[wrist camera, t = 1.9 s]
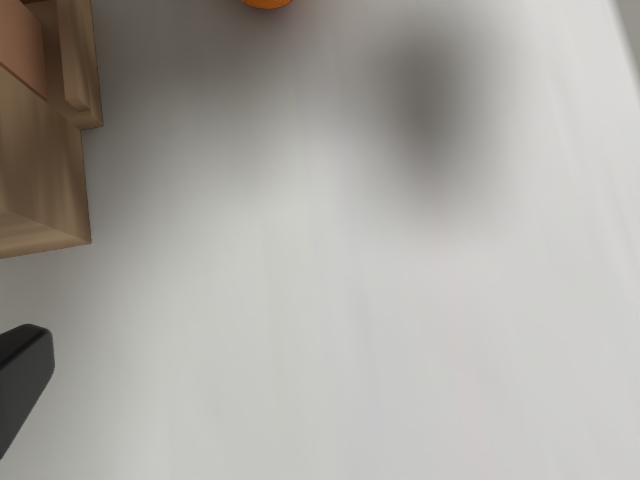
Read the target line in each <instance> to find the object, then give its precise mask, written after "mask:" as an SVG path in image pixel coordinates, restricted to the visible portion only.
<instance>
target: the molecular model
mask: <svg viewBox="0 0 640 480" xmlns="http://www.w3.org/2000/svg"><path fill="white" fill-rule="evenodd" d="M241 1H242V2H243V3H245V4H247V5H249V6H252V7H255V8H266V9H273V8H278V7H281V6H283V5H285V4H288V3H289V2H290V1H292V0H241Z"/></svg>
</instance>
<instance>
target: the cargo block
mask: <svg viewBox="0 0 640 480" xmlns="http://www.w3.org/2000/svg"><path fill="white" fill-rule="evenodd" d="M0 66H1V67H2V68H4V69H5V70H6V71H7V72H9V73H10V74H11V75H12V76H14V77H15V78H16V79H17V80H19V81H20V82H21V83H22V84H24V85H25V86H26V87H27V88H29V89H30V90H31V91H32V92H34V93H35V94H36V95H37V96H39V97H40V98H41V99H42V100H44V101H45V100H48V97H47V86H46V74H45V63H44V51H43V40H42V28H41V22H40V21H39V20H38V19H37V18H36V17H35V16H34V15H33V14H32V13H31V12H30V11H29V10H28V9H27V8H26V7H25V6H24V5H23V4H22V2H21V1H20V0H0Z"/></svg>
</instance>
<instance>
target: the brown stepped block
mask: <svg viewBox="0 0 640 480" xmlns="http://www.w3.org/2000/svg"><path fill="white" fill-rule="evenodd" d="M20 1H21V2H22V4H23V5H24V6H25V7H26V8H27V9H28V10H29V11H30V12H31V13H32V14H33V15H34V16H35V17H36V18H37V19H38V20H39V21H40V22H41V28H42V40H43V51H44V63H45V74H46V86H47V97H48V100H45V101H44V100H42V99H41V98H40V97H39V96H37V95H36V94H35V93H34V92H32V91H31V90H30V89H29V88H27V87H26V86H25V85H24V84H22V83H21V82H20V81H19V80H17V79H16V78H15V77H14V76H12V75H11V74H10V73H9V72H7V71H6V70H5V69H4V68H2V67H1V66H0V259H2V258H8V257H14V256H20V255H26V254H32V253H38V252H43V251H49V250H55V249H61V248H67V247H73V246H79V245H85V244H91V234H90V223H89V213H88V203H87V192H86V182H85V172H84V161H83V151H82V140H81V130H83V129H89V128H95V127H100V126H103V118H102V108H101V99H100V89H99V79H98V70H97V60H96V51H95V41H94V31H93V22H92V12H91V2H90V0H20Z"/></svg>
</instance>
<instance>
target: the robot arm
mask: <svg viewBox="0 0 640 480" xmlns="http://www.w3.org/2000/svg"><path fill="white" fill-rule="evenodd" d="M54 367H55V360H54V348H53V337H52V333H51V332H50V330H48V329H46V328H42V327H39V326H36V325H33V324H24V325H21V326H18V327H16V328H14V329H11V330H9V331H7V332H4V333H2V334H0V460H1V459H2V458H3V456H4V454H5V453H6V451H7V450H8V448H9V447H10V445H11V443H12V442H13V440H14V438H15V437H16V435H17V433H18V432H19V430H20V429H21V427H22V425H23V424H24V422H25V420H26V419H27V417H28V415H29V414H30V412H31V410H32V409H33V407H34V405H35V404H36V402H37V400H38V399H39V397H40V395H41V394H42V392H43V390H44V389H45V387H46V385H47V384H48V382H49V380H50V379H51V377H52V374H53V371H54Z"/></svg>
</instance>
